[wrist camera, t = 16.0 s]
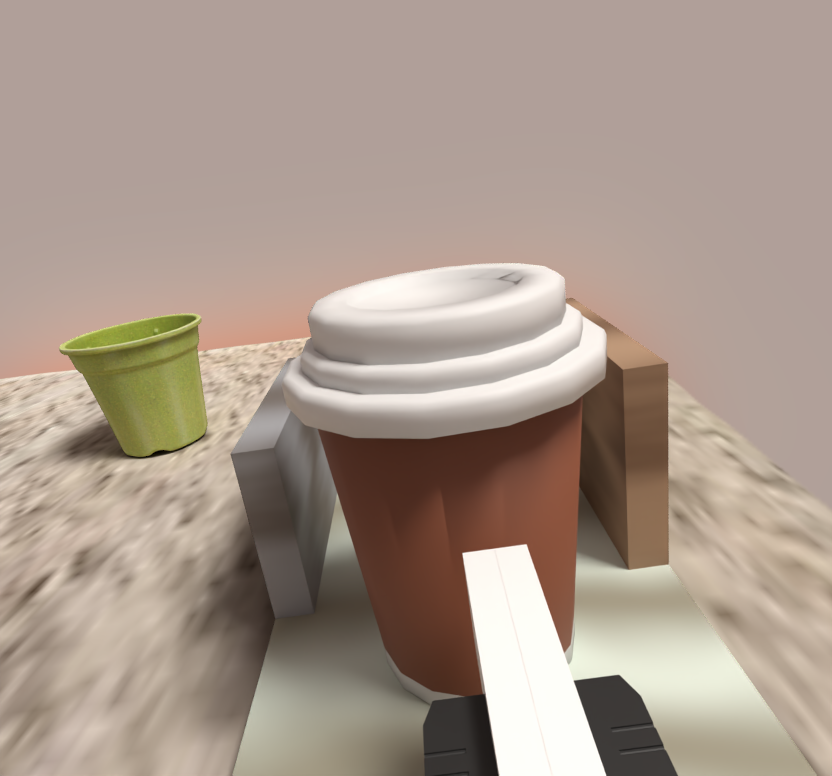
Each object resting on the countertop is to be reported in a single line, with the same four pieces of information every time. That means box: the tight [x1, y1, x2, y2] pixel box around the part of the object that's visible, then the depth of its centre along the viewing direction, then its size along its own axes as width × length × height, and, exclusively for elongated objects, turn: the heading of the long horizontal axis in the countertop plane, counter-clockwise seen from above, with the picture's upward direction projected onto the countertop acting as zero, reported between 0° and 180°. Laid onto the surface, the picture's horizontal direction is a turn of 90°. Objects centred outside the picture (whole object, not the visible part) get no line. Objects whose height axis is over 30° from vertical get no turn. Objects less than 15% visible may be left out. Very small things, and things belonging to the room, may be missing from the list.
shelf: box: [231, 298, 817, 776], centre depth 21 cm, size 24×15×9 cm, turn 1°
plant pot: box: [59, 314, 207, 457], centre depth 44 cm, size 9×9×9 cm
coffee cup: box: [282, 263, 607, 705], centre depth 19 cm, size 9×9×12 cm
